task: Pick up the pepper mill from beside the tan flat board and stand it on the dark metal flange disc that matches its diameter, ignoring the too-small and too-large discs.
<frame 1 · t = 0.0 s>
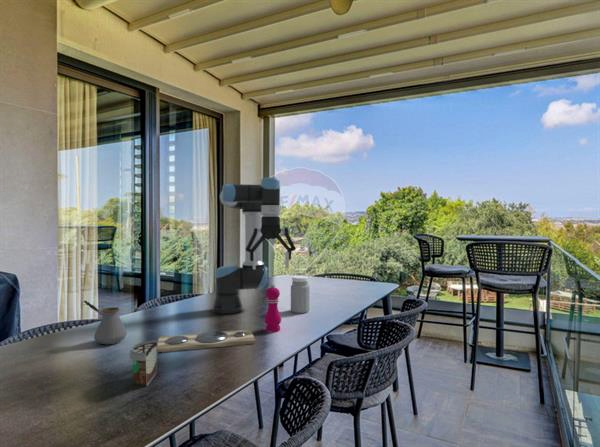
hand: (270, 268, 150), 28 cm above the table, tool pointing down, fingers open, 13 cm apart
coffee pot: (102, 340, 148), on the table
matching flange: (177, 344, 142), resting on tan flat board
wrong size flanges: (227, 340, 147), resting on tan flat board
pepper mill: (272, 330, 160), on the table
jar: (300, 311, 192), on the table
white and brown wedge: (141, 380, 112), on the table
tan flat board: (206, 342, 145), on the table
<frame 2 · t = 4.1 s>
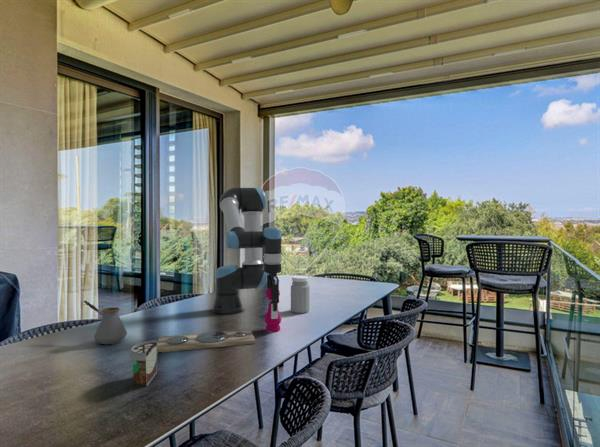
hand: (272, 316, 160), 6 cm above the table, tool pointing down, fingers closed on pepper mill, 6 cm apart
pepper mill: (272, 330, 160), on the table, touching gripper
everything else where it was.
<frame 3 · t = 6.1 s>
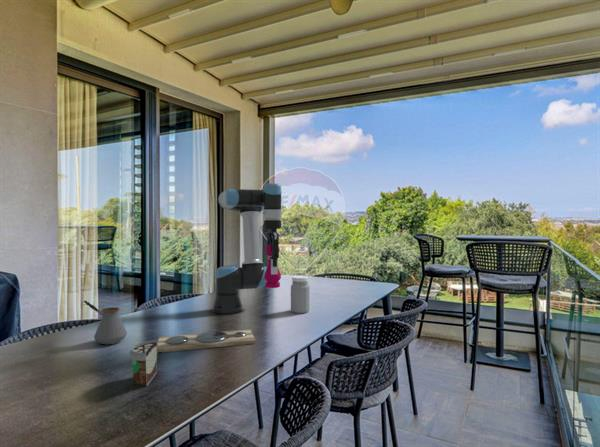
hand: (272, 272, 160), 25 cm above the table, tool pointing down, fingers closed on pepper mill, 6 cm apart
pepper mill: (272, 287, 160), point 19 cm above the table, touching gripper
everything else where it was.
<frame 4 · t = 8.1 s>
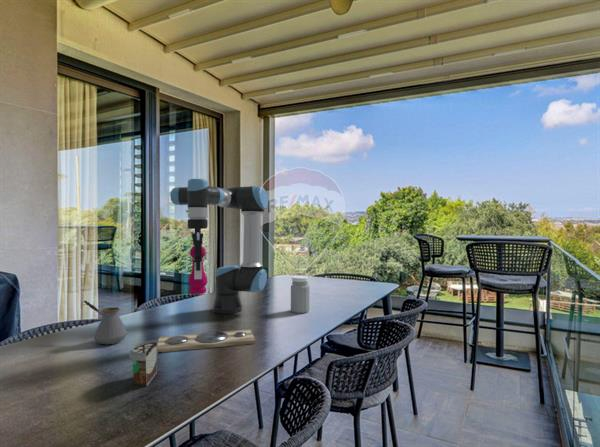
hand: (197, 277, 145), 25 cm above the table, tool pointing down, fingers closed on pepper mill, 6 cm apart
pepper mill: (198, 293, 145), point 19 cm above the table, touching gripper
everything else where it was.
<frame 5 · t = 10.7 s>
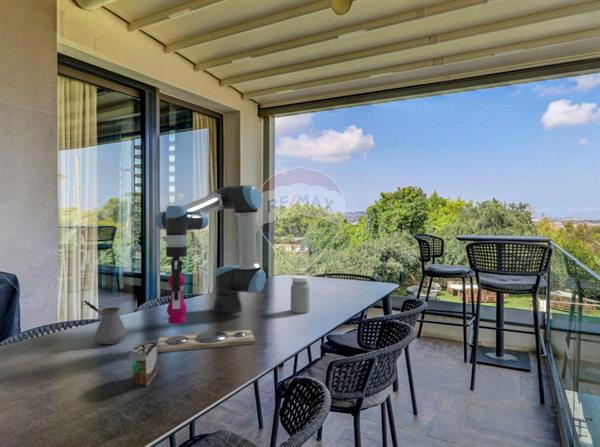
hand: (176, 306, 142), 15 cm above the table, tool pointing down, fingers closed on pepper mill, 6 cm apart
pepper mill: (176, 322, 142), point 9 cm above the table, touching gripper
everything else where it was.
when the fingers open (9 cm above the table, at t = 12.5 s): pepper mill drops 1 cm, resting on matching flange.
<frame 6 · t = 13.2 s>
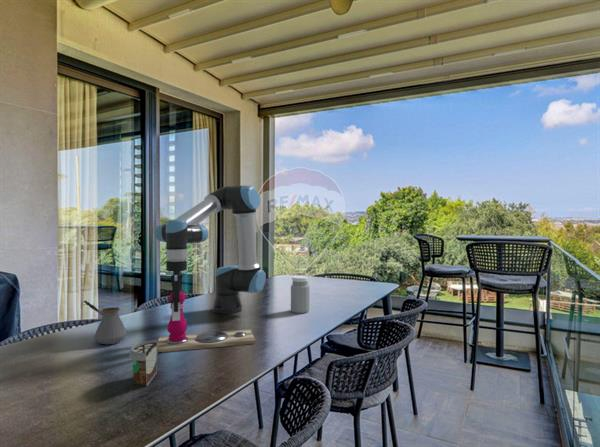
hand: (177, 315, 142), 11 cm above the table, tool pointing down, fingers open, 13 cm apart
pepper mill: (177, 339, 142), point 2 cm above the table, touching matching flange
everything else where it was.
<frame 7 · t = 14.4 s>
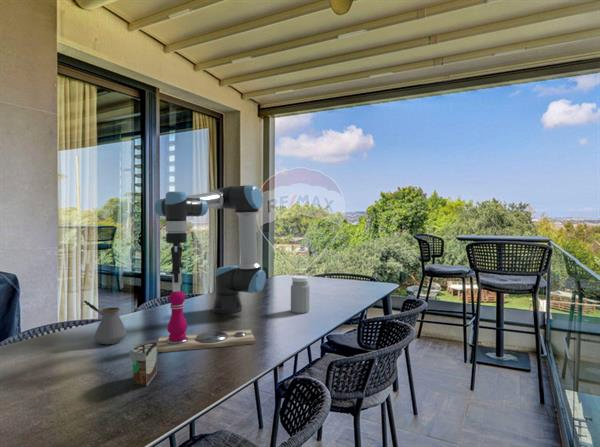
hand: (177, 287, 142), 22 cm above the table, tool pointing down, fingers open, 13 cm apart
nothing on the table moved.
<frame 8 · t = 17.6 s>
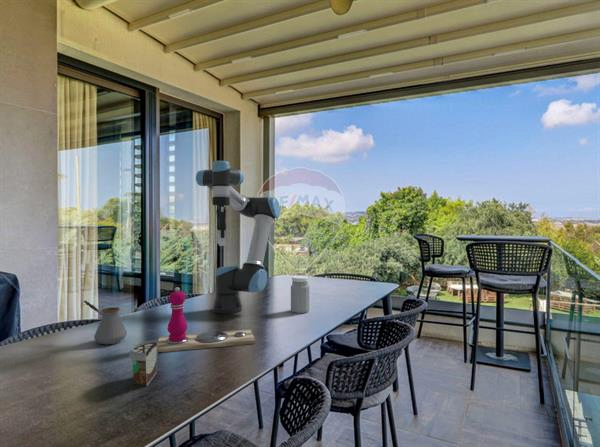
hand: (221, 244, 164), 37 cm above the table, tool pointing down, fingers open, 13 cm apart
nothing on the table moved.
at the end: pepper mill 0.1 cm from the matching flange (horizontally); pepper mill tilted 0°; the gripper is holding nothing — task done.
